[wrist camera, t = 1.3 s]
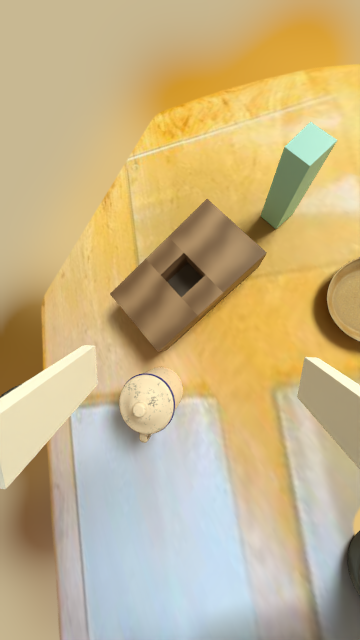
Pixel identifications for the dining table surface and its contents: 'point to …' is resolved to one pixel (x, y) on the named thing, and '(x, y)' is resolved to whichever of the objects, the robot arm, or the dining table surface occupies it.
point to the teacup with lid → (150, 401)
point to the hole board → (187, 275)
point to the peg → (296, 173)
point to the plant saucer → (346, 298)
